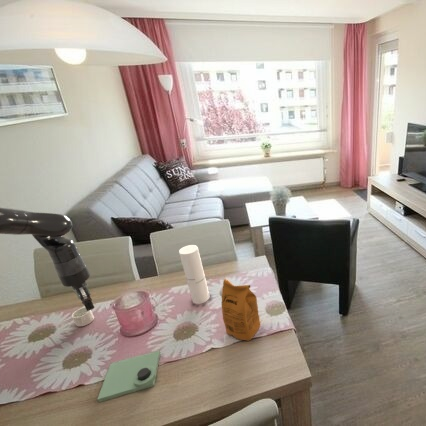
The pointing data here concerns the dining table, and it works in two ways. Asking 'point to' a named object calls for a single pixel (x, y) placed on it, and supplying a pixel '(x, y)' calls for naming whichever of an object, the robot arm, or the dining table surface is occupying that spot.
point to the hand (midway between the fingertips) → (90, 308)
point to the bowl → (82, 317)
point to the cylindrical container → (194, 273)
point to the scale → (129, 376)
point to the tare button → (143, 374)
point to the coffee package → (239, 311)
